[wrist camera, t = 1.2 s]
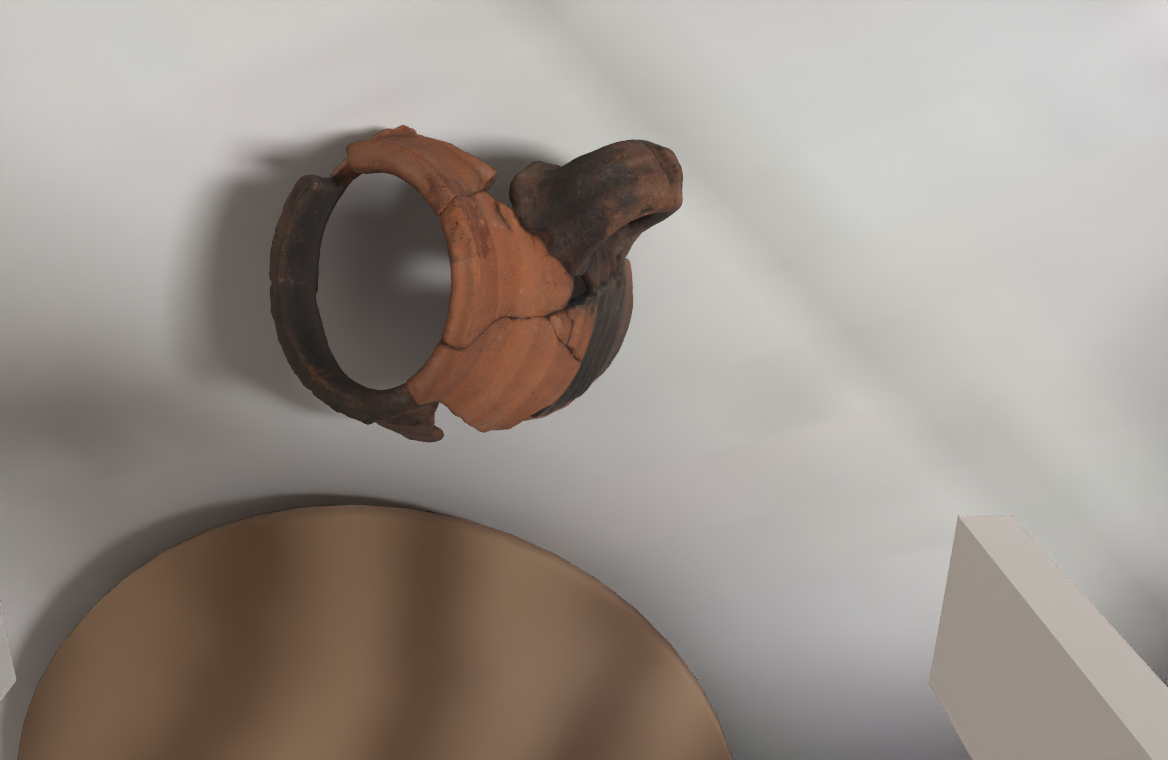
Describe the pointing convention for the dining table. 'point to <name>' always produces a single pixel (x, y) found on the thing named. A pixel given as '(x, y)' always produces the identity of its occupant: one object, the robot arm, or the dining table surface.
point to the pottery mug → (486, 278)
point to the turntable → (366, 653)
